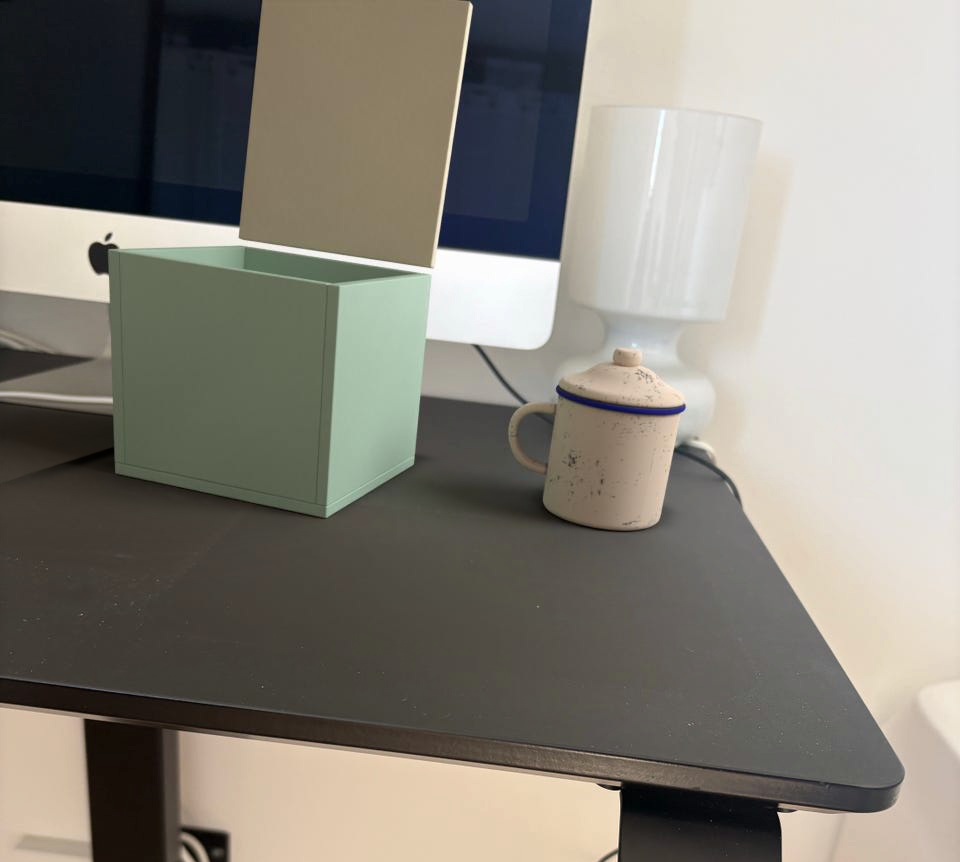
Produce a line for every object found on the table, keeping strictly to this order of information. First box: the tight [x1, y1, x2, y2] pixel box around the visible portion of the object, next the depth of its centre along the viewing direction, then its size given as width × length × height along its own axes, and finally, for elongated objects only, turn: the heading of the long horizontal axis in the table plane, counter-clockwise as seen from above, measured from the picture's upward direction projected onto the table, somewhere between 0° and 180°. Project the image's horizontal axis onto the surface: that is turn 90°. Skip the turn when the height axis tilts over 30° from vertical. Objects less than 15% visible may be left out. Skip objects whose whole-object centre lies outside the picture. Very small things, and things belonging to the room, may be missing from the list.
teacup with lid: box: [507, 347, 687, 532], centre depth 71 cm, size 12×9×12 cm
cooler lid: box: [238, 0, 474, 269], centre depth 73 cm, size 17×16×1 cm
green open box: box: [107, 245, 432, 519], centre depth 70 cm, size 17×16×14 cm
